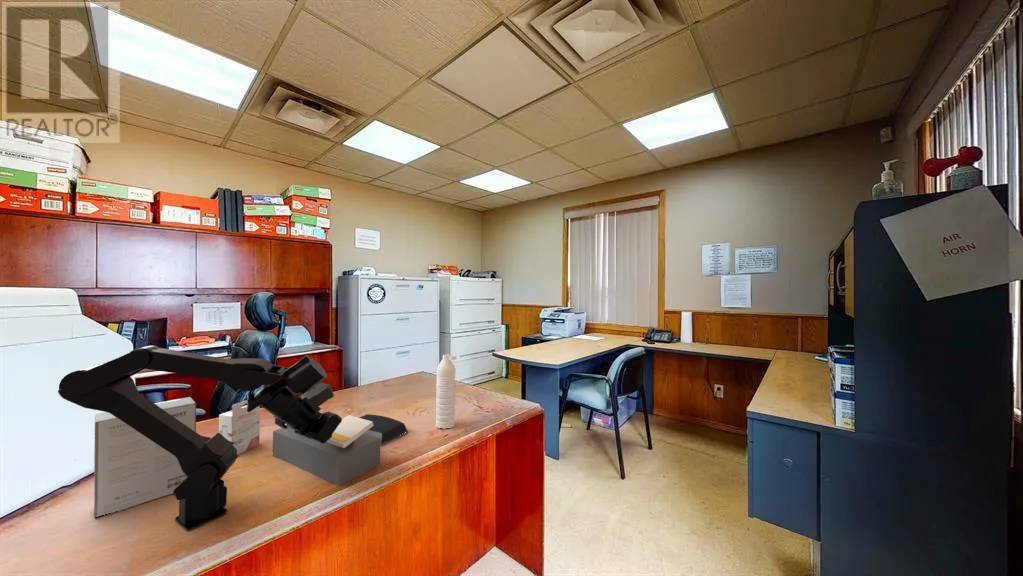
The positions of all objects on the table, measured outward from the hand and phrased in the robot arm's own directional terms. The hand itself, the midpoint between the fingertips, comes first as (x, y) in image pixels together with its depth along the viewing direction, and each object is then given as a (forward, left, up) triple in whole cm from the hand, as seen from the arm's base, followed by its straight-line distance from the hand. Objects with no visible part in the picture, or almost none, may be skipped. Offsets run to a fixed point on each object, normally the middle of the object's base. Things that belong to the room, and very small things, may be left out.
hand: (329, 437), depth 86 cm
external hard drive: (+23, +12, -10) cm, 28 cm away
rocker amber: (+5, 0, 0) cm, 5 cm away
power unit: (+5, +9, -10) cm, 14 cm away
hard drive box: (-25, +28, -10) cm, 39 cm away
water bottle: (+40, -5, -10) cm, 41 cm away
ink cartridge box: (-4, +36, -10) cm, 38 cm away
